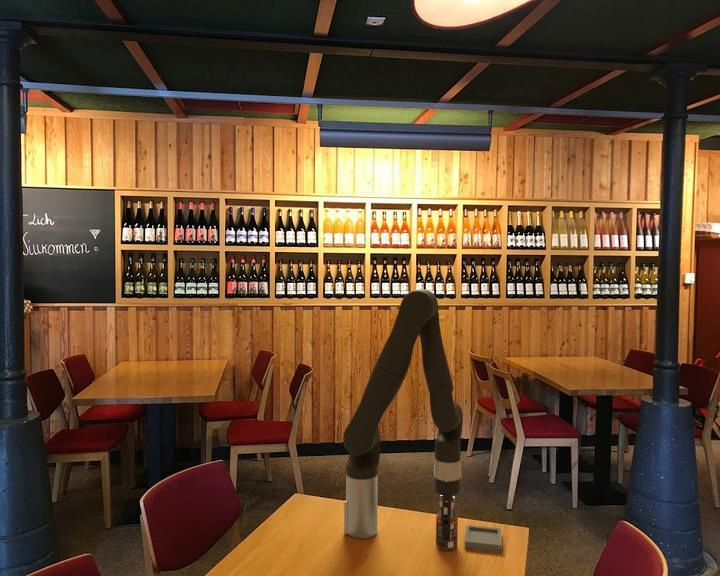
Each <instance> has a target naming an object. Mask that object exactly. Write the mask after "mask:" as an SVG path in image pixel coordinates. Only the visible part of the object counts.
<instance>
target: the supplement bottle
mask: <svg viewBox="0 0 720 576" xmlns="http://www.w3.org/2000/svg"><path fill="white" fill-rule="evenodd" d="M450 514H451V512H450ZM458 517H459V516H458V514H456V513H455V506H454V507H453V517H452V518H451V527H450V540H443V539H442V527H441V516H440V511H439V512H437V513H436V516H435V518H436V519H435V546H436V547H437V548H438V549H440V550H443V551H449V552H451V551H454V550H456V549H457V548H458V530H459V529H458V526H459V525H458V524H459V523H458V522H459V521H458V519H459V518H458ZM444 522H448V520H444Z"/></svg>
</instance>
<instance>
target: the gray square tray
mask: <svg viewBox="0 0 720 576" xmlns="http://www.w3.org/2000/svg"><path fill="white" fill-rule="evenodd" d="M464 549H470V550H478V551H485V552H492V551H495V552H494V553H501V552H502V553H503V540H502V528H500V527H491V526H482V525H481V526H480V525H474V524H473V525H472V524H465V534H464ZM496 551H497V552H496Z"/></svg>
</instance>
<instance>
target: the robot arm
mask: <svg viewBox="0 0 720 576" xmlns="http://www.w3.org/2000/svg"><path fill="white" fill-rule="evenodd" d="M418 337H419V339H420V347H421V361H422V369H423V374H424V378H425V381H426V386H427V390H428V394H429V407H430V415H431V419H432V422H433V425H435V427H436V429H438V432H437V433H438V434H437V437H436V439H435V444H434V463H433V490H434V493H436V494H437V495H440V498H439V512H440V516H441V527H442V539H443V540H450V527H451V518H452V517H453V507H454V508H455V501H456V499H455V498H456V497H455V496H458V495H459V494H461V492H462V463H461V462H462V461H461V438H462V431H463V422H464V419H463V418H464V414H463V409H462V407H461V406H460V404H458V403H457V402H455V401H454V397H453V392H454V383H453V378H452V375H451V372H450V371H451V370H450V367H449V363H448V360H447V356H446V350H445V347H444V342H443V337H442V332H441V326H440V315H439V303H438V298H437V297H436V295H435V294H434V293H433V292H432V291H430V290H429V289H424V288H420V289H412V290H411V291H409V292H407V293H406V294H405V295H404V296H403V298H402V299H401V302H400V305H399V308H398V311H397V314H396V318H395V320H394V323H393V326H392V330H391V331H390V334H389V336H388V337H387V340H386V341H385V343H384V345H383V347H382V349H381V351H380V354H379V355H378V358H377V360H376V362H375V364H374V366H373V369H372V371H371V373H370V376H369V379H368V381H367V383H366V386H365V388H364V391H363V394H362V397H361V400H360V403H359V405H358V406H357V408H356V411H355V412H354V414H353V415H352V418H351V420H350V421H349V423H348V424H347V426H346V427H345V430H344V431H343V435H342V443H343V446H344V448H345V450H346V451H347V452H348V453H349V456H348V460H347V463H346V469H345V476H346V477H345V478H346V479H345V481H346V483H345V486H346V487H345V498H346V499H345V501H344V503H343V506H344V507H343V513H344V517H343V518H344V519H343V529H344V531H343V534H344V533H345V534H344V535H347V534H348V535H347V536H349V535H350V537H351V536H352V538H354V539H368V538H369V539H370V538H372V537H374V536H376V534H377V533H378V477H379V476H378V471H379V468H378V467H379V464H380V458H381V457H380V456H381V430H380V428H379V427H380V426H379V424H380V422H381V420H382V418H383V416H384V414H385V412H386V411H387V410H388V408H389V406H390V405H391V404H392V402H393V401H394V400H395V398H396V396H397V395H398V393H399V391H400V388H401V387H402V386H403V383H404V381H405V378H406V376H407V374H408V372H409V369H410V367H411V366H410V365H411V361H412V357H413V352H414V348H415V343H416V341H417V339H418ZM450 512H451V514H450ZM444 520H448V522H444Z"/></svg>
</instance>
